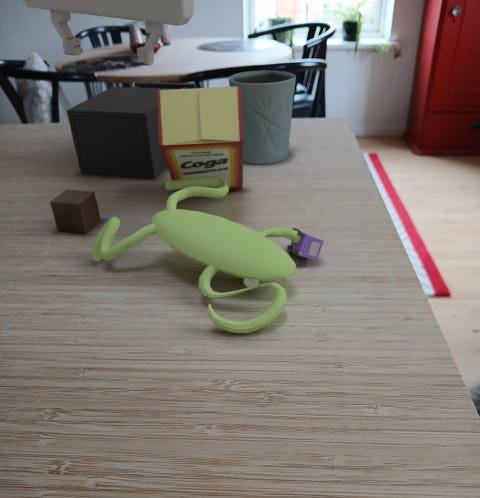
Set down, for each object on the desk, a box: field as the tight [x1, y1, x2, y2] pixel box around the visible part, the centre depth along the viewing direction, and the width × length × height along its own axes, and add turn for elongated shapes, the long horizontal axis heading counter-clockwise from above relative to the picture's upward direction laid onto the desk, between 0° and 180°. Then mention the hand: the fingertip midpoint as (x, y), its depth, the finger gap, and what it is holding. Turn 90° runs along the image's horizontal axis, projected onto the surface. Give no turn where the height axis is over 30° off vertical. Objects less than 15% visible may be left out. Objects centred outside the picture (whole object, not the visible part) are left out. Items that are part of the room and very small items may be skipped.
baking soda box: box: [157, 86, 244, 192], centre depth 66 cm, size 10×6×16 cm
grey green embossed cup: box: [228, 69, 297, 165], centre depth 81 cm, size 10×10×12 cm
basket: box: [132, 81, 197, 89], centre depth 91 cm, size 18×11×8 cm, turn 165°
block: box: [49, 188, 101, 235], centre depth 65 cm, size 4×4×4 cm
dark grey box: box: [66, 86, 173, 180], centre depth 82 cm, size 15×13×10 cm
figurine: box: [91, 177, 325, 334], centre depth 56 cm, size 18×27×6 cm
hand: (108, 59), depth 62 cm, fingers open, 8 cm apart
